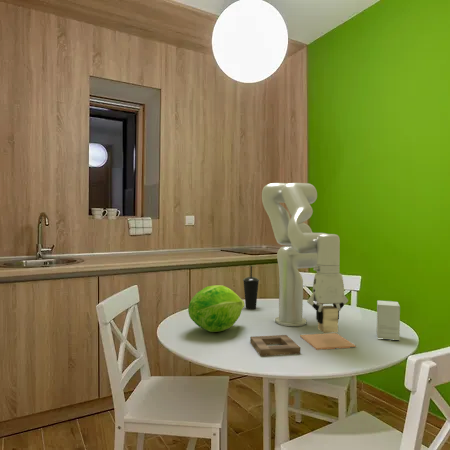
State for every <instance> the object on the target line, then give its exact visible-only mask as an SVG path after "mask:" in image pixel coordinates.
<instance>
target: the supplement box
mask: <svg viewBox="0 0 450 450" xmlns="http://www.w3.org/2000/svg"><path fill="white" fill-rule="evenodd" d="M400 315H401V306H400V304H399V302H398V301H392V300H377V301H376V336H377V337H376V338H377V339H378V338H383V339H394V340H399V341H400V338H401V337H400V336H401V335H400V330H401V329H400V325H401V319H400V318H401V317H400Z"/></svg>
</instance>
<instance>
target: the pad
mask: <svg viewBox="0 0 450 450" xmlns="http://www.w3.org/2000/svg"><path fill="white" fill-rule="evenodd" d="M299 337H300V338H301V339H303V340H304V341H305V342H306V343H308V344H309V345H310V347H312V348H313V349H315V350H316V351H318V350H321V349H322V350H335V348H339V349H350V347H356V348H357V345H355V344H354V343H353V342H351V341H349V340H347V339H346V338H345V337H343V336H342V335H340V334H338V332H330V333H314V334H313V333H312V334H300V335H299Z"/></svg>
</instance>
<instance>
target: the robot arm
mask: <svg viewBox="0 0 450 450" xmlns="http://www.w3.org/2000/svg"><path fill="white" fill-rule="evenodd" d="M317 198H318V192H317V189H316V187H315V186H314V185H313V184H311V183H308V182H289V183H288V182H287V183H286V182H272V183H271V182H270V183H268V184H266V185H264V187H263V188H262V191H261V201H262V205H263V208H264V210H265V212H266V214H267V216H268V217H269V221H270V224H271V228H272V231H273V234H274V238H275V240H276V243H277V244H278V245H281V247H280V248H278V250H277V254H276V258H277V259H276V260H277V264H278V265H277V266H278V273H279V274H278V280H279V281H278V285H279V286H278V287H279V288H278V296H279V297H278V316H276V317H274V322H275V323H276V324H278V325H281V326H285V327H301V326H302V327H303V326H305V325H306V324H307V320H306V318H304V317H303V312H304V311H303V305H304V304H303V303H304V302H303V301H304V300H303V299H304V298H303V297H304V281H303V276H302V274H301V273H300V270H299V269H312V268H313V271H316V272H315V273H314V277H313V283H312V284H313V285H312V294H311V295H310V297H308V299H307V303H308V305H310V306H311V307H312V308H313V309H314V310H315V311H316V314H315V315H316V316H315V319H316V322H317V323H318V322H319V323H320V324H322V323H323V312H322V307H323V306H324V305H328V304H330V305H332V306H333V307H336V308H338V321H339V319H340V312H341V310H342V308H343V307H344V305H346V304H347V303H348V302H349V299H348V298H347V296H346V295H345V286H344V285H345V284H344V279H343V274H342V273H340V263H341V262H340V259H341V258H340V256H341V255H340V253H341V251H340V249H341V248H340V246H341V245H340V244H341V242H340V240H341V239H340V236H339V235H338V234H335V233H326V232H313V231H312V230H313V229H312V228H311V227H310V225H308V224H307V223H304V222H306V221H308V220H309V219H310V218H311V217H312V215H313V212H314V210H313V207H312V206H311V205H312V204H313V203H315V202H316V200H317ZM281 203H282V204H283V203H285V206H286V207H284V205H282V204H281ZM286 208H287V209H286Z"/></svg>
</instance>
